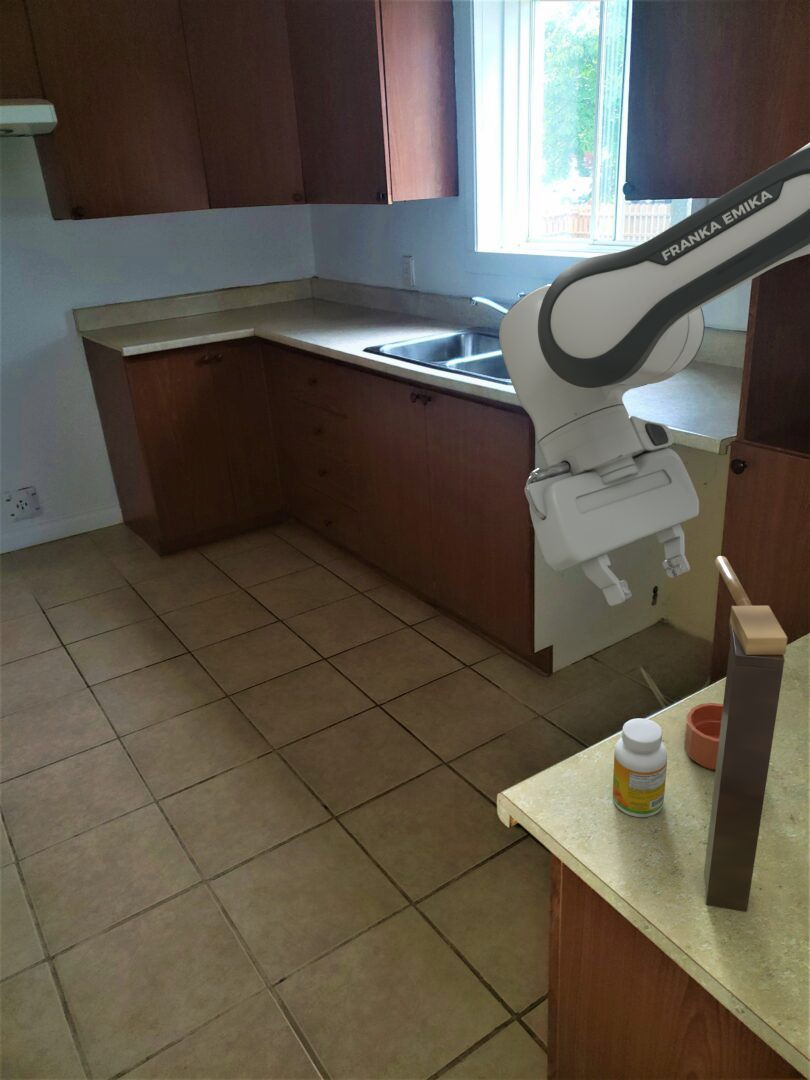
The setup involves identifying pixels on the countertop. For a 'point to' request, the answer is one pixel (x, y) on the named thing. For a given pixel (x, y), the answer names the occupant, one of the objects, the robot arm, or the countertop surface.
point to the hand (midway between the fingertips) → (652, 588)
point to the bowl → (703, 733)
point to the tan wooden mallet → (752, 618)
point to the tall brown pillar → (741, 774)
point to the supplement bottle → (640, 769)
